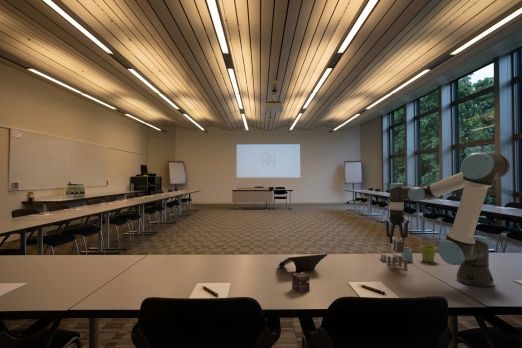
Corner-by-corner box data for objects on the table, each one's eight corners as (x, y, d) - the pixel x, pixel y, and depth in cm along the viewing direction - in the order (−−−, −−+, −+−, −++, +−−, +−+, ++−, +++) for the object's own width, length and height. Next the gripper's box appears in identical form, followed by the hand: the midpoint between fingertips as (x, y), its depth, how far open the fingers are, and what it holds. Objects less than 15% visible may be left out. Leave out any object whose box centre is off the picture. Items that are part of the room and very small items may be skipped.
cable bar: (396, 247, 182) (396, 237, 182) (404, 252, 170) (404, 241, 170) (389, 246, 182) (389, 236, 182) (396, 252, 170) (396, 241, 170)
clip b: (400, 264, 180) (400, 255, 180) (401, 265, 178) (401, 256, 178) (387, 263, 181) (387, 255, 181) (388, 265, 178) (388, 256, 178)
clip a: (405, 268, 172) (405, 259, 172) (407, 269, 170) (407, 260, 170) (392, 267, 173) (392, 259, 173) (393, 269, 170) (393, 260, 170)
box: (298, 293, 134) (298, 277, 134) (291, 289, 140) (291, 273, 140) (309, 291, 136) (309, 275, 137) (302, 287, 142) (302, 272, 142)
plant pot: (439, 261, 186) (439, 247, 187) (432, 263, 181) (432, 249, 181) (424, 258, 194) (424, 244, 194) (416, 260, 189) (416, 246, 189)
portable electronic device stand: (313, 274, 179) (309, 259, 184) (331, 267, 160) (327, 250, 164) (277, 278, 172) (274, 262, 177) (291, 271, 153) (288, 253, 157)
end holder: (394, 258, 192) (393, 252, 192) (398, 262, 184) (398, 255, 184) (380, 258, 193) (380, 252, 193) (384, 262, 185) (384, 255, 185)
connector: (409, 259, 191) (409, 246, 191) (412, 261, 186) (412, 248, 186) (401, 259, 191) (401, 246, 192) (404, 261, 186) (404, 248, 187)
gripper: (409, 208, 179) (409, 247, 179) (379, 208, 180) (379, 247, 180) (414, 210, 171) (414, 251, 171) (383, 209, 173) (383, 250, 173)
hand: (396, 249), depth 176 cm, fingers closed on cable bar, 4 cm apart
